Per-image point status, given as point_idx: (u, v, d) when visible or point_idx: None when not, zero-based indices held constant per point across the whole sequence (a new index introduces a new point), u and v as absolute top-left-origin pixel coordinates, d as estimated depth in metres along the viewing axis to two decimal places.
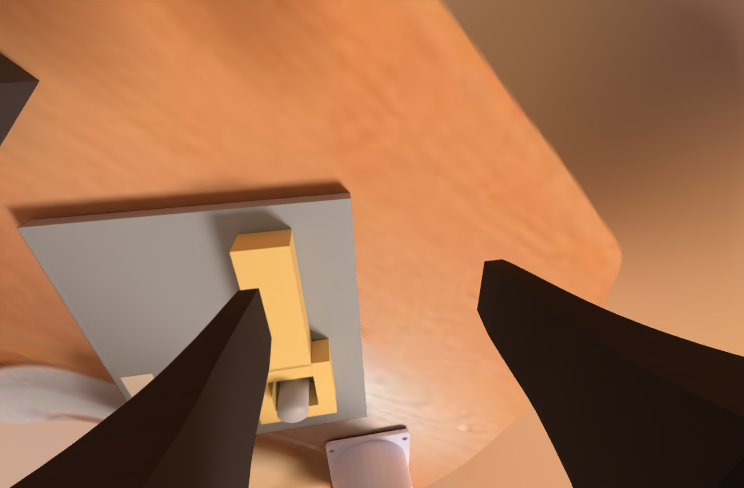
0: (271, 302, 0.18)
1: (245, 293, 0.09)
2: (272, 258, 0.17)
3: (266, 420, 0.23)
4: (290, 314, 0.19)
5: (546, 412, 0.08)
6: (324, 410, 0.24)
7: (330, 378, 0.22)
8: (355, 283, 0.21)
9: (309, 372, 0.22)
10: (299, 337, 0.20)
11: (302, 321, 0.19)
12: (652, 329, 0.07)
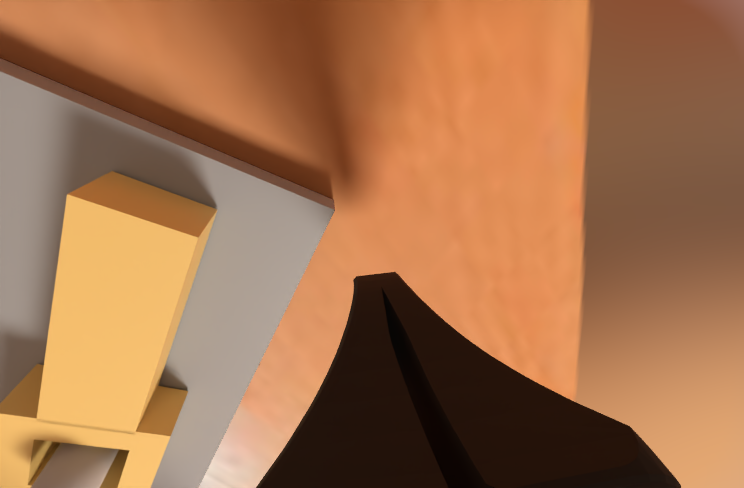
0: (111, 314, 0.10)
1: (368, 279, 0.10)
2: (154, 244, 0.09)
3: None
4: (139, 346, 0.10)
5: None
6: None
7: (158, 460, 0.13)
8: (272, 329, 0.13)
9: (125, 443, 0.12)
10: (134, 387, 0.11)
11: (155, 364, 0.11)
12: (485, 354, 0.06)
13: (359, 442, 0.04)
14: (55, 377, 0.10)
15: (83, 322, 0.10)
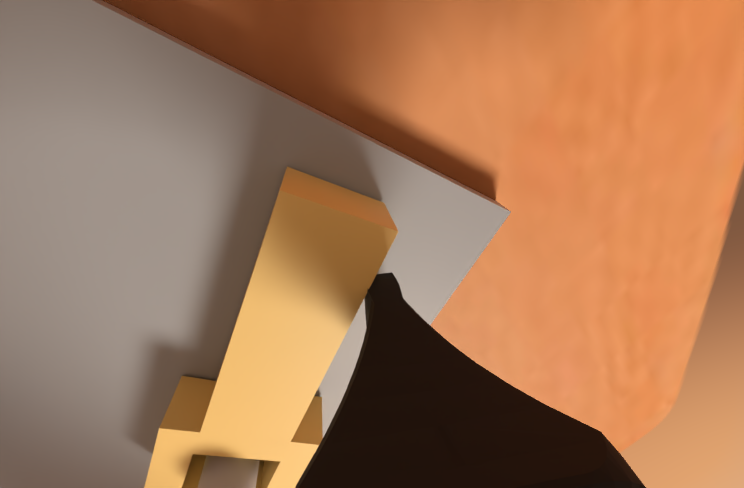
0: (294, 320, 0.09)
1: (385, 277, 0.10)
2: (353, 241, 0.08)
3: None
4: (314, 352, 0.10)
5: None
6: None
7: None
8: None
9: (278, 454, 0.12)
10: (300, 396, 0.11)
11: (324, 371, 0.10)
12: (464, 357, 0.06)
13: (396, 436, 0.04)
14: (227, 389, 0.10)
15: (266, 329, 0.09)
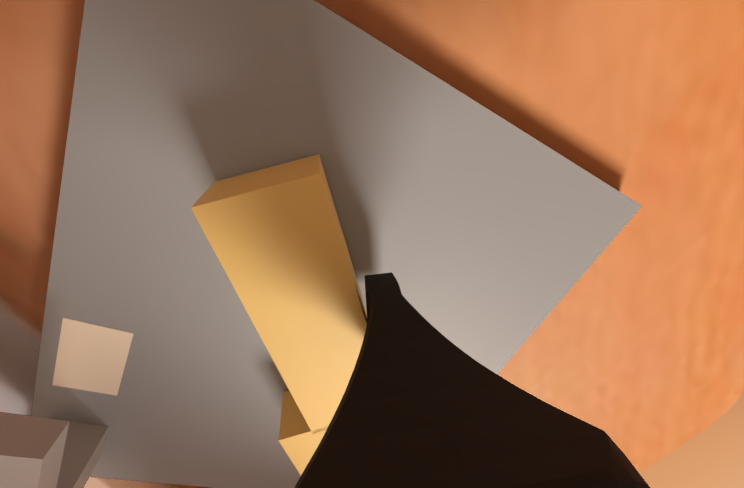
0: (302, 306, 0.09)
1: (384, 277, 0.10)
2: (288, 210, 0.08)
3: None
4: (344, 324, 0.10)
5: None
6: None
7: None
8: (538, 323, 0.14)
9: None
10: None
11: None
12: (467, 357, 0.06)
13: (395, 435, 0.04)
14: (300, 388, 0.11)
15: (286, 326, 0.09)
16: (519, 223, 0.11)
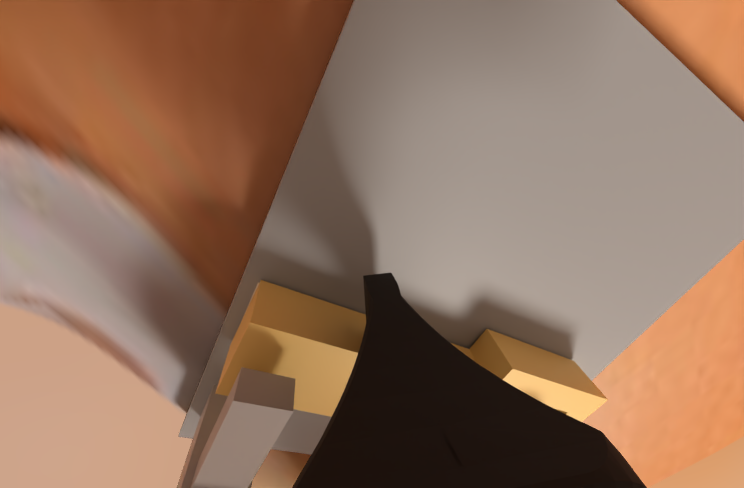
0: (339, 387, 0.10)
1: (384, 277, 0.10)
2: (260, 352, 0.09)
3: None
4: None
5: None
6: (585, 410, 0.13)
7: (543, 381, 0.12)
8: (676, 299, 0.14)
9: None
10: None
11: None
12: (465, 357, 0.06)
13: (395, 437, 0.04)
14: None
15: None
16: (690, 196, 0.12)
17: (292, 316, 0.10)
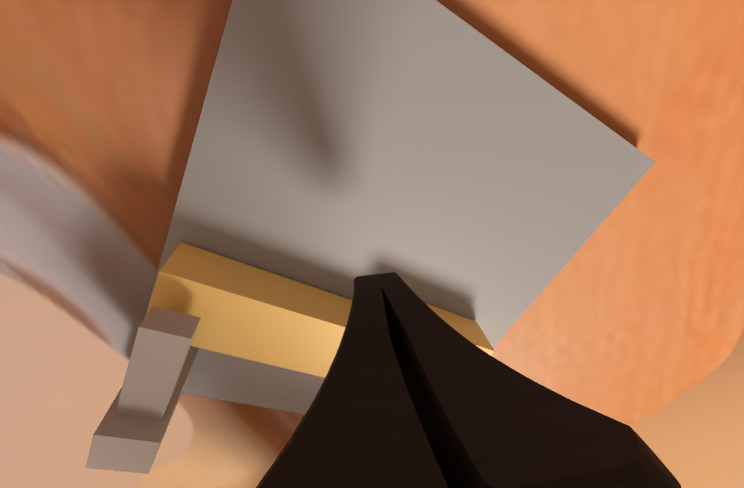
0: (247, 331, 0.13)
1: (368, 279, 0.10)
2: (173, 298, 0.11)
3: None
4: (282, 322, 0.13)
5: None
6: None
7: None
8: (561, 267, 0.16)
9: None
10: (329, 331, 0.13)
11: (304, 315, 0.13)
12: (485, 354, 0.06)
13: (359, 442, 0.04)
14: (310, 368, 0.14)
15: (255, 345, 0.13)
16: (552, 174, 0.14)
17: (202, 270, 0.12)
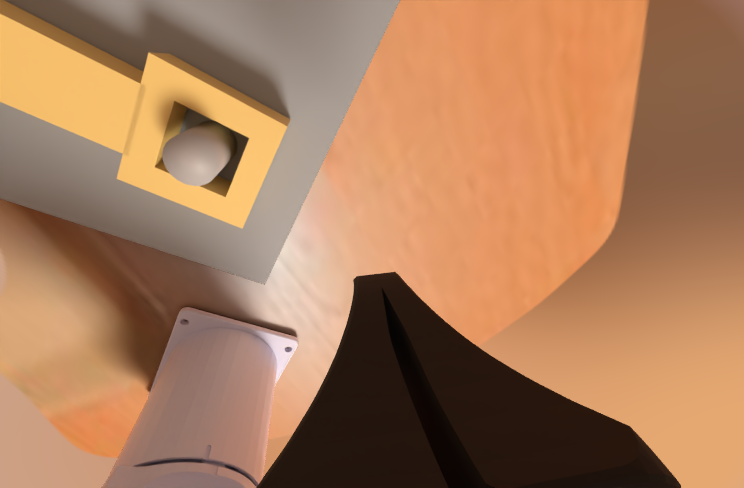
0: None
1: (368, 279, 0.10)
2: None
3: (238, 218, 0.16)
4: None
5: None
6: (269, 139, 0.14)
7: (195, 80, 0.13)
8: (373, 49, 0.15)
9: (161, 100, 0.13)
10: (65, 59, 0.12)
11: (24, 27, 0.11)
12: (485, 354, 0.06)
13: (359, 443, 0.04)
14: (60, 118, 0.13)
15: None
16: None
17: None
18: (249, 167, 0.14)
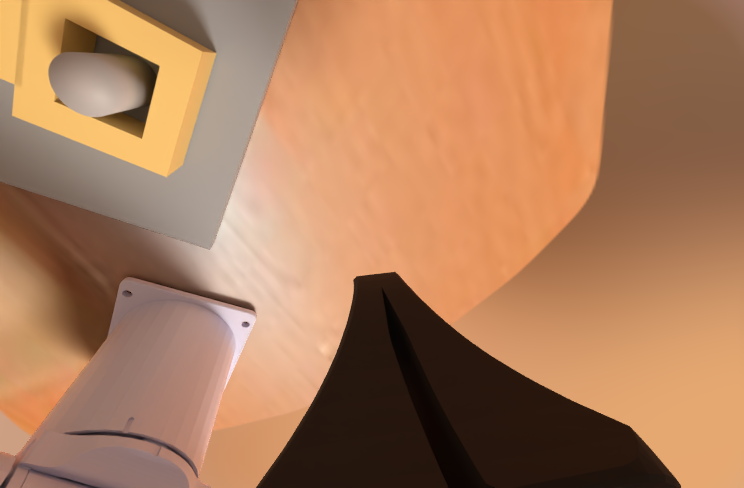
0: None
1: (368, 279, 0.10)
2: None
3: (160, 165, 0.14)
4: None
5: None
6: (183, 68, 0.12)
7: None
8: None
9: (50, 17, 0.11)
10: None
11: None
12: (485, 354, 0.06)
13: (359, 442, 0.04)
14: None
15: None
16: None
17: None
18: (164, 102, 0.13)
